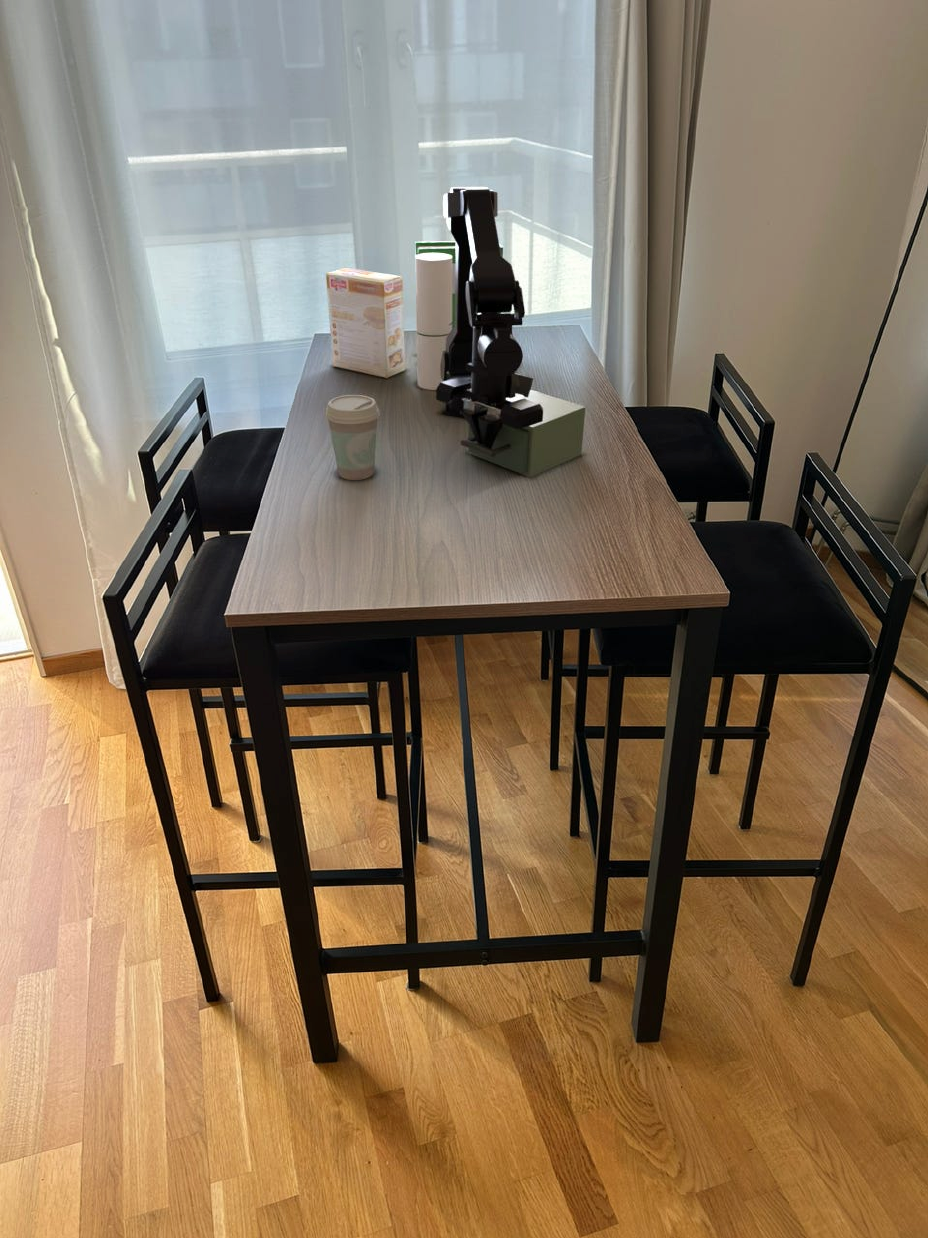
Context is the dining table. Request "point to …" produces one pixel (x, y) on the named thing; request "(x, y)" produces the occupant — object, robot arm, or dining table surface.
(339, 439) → the coffee cup
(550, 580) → the dining table surface
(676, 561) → the dining table surface
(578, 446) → the cabinet
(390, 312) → the coffeecake box
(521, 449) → the drawer
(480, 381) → the robot arm
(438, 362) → the cylindrical container
